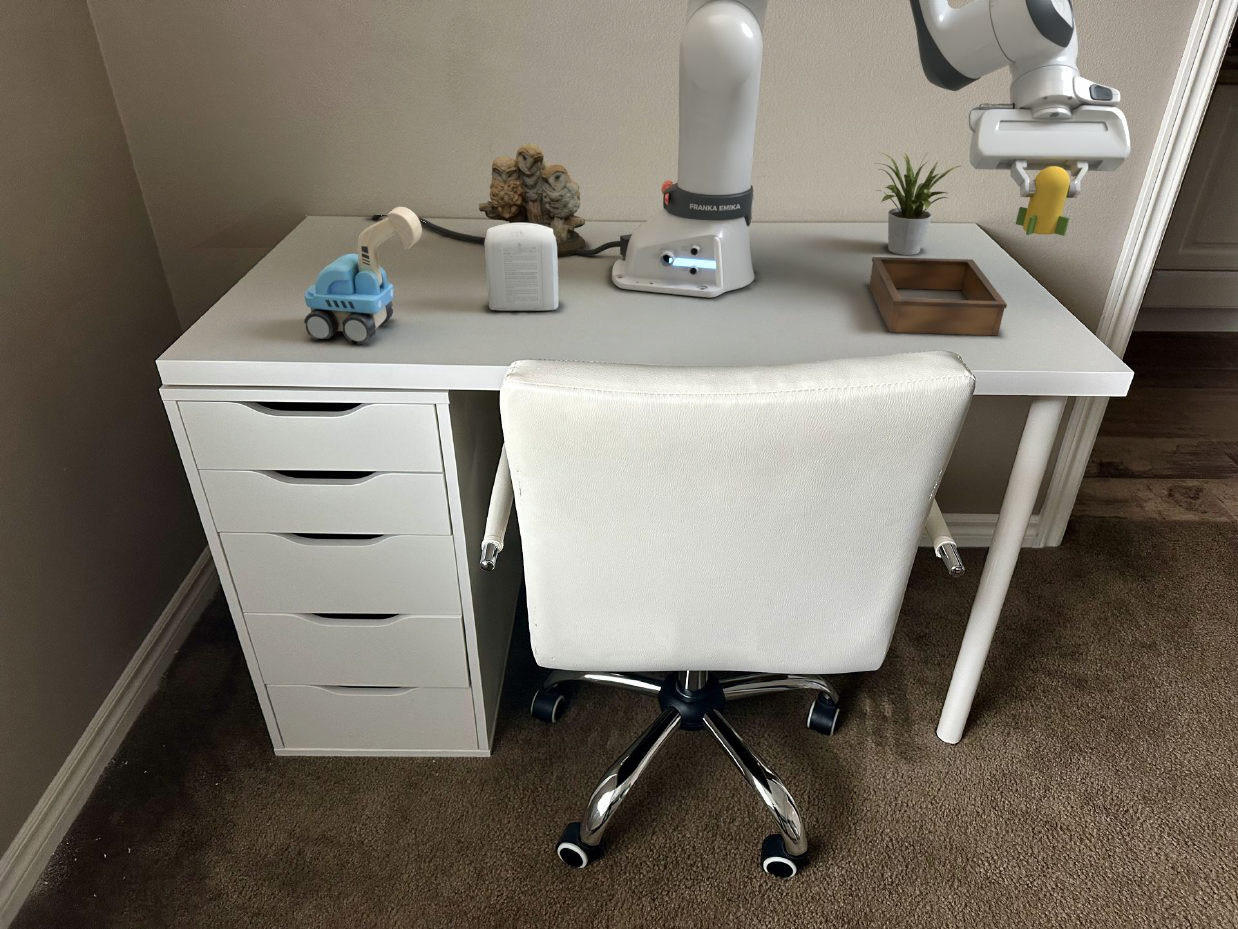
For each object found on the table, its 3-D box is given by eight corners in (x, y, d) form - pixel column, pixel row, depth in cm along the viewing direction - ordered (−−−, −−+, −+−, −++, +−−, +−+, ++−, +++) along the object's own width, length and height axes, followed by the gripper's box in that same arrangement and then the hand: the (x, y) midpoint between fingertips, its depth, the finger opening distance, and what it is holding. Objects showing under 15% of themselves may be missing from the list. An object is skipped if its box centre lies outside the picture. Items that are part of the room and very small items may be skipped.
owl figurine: (476, 257, 147) (467, 152, 137) (488, 235, 156) (479, 136, 147) (583, 259, 146) (581, 153, 137) (588, 236, 156) (586, 136, 147)
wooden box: (888, 332, 120) (893, 301, 118) (867, 285, 136) (872, 256, 133) (999, 336, 119) (1007, 304, 117) (966, 288, 134) (972, 259, 132)
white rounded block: (559, 301, 130) (556, 218, 124) (559, 312, 127) (555, 227, 120) (490, 302, 130) (483, 219, 123) (487, 313, 126) (480, 228, 120)
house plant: (837, 247, 151) (850, 149, 142) (882, 230, 159) (897, 136, 150) (909, 268, 142) (928, 165, 133) (954, 249, 150) (975, 150, 141)
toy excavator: (418, 349, 116) (400, 221, 107) (301, 340, 118) (274, 214, 109) (440, 324, 123) (426, 201, 114) (329, 316, 125) (306, 195, 116)
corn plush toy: (1026, 235, 119) (1041, 171, 115) (1014, 223, 123) (1029, 161, 119) (1065, 236, 119) (1083, 171, 114) (1052, 224, 123) (1069, 162, 119)
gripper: (975, 89, 119) (979, 181, 116) (1132, 90, 117) (1140, 184, 114) (961, 117, 125) (964, 205, 122) (1109, 119, 123) (1116, 208, 120)
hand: (1050, 195), depth 118 cm, fingers closed on corn plush toy, 4 cm apart
